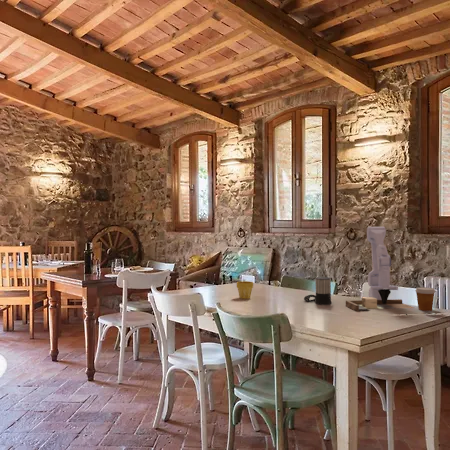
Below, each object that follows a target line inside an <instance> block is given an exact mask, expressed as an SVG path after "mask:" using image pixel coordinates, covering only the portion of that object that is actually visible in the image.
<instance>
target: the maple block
mask: <svg viewBox="0 0 450 450" xmlns="http://www.w3.org/2000/svg"><path fill="white" fill-rule="evenodd" d="M361 300H362V306H364V307H366V308H373V307H377V299H376V298H373V297H369V296H365V297H364V296H363V297H361Z"/></svg>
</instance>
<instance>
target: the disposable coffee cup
mask: <svg viewBox="0 0 450 450" xmlns="http://www.w3.org/2000/svg"><path fill="white" fill-rule="evenodd" d="M414 291H415V293H416V300H417V302H416V303H417V308H418V310H419V311H422V312H423V311H424V312H429V311H430V312H432V311H433V307H434V299H435V294H436V290H435V288H433V287H428V286H427V287H425V286H423V287H420V286H419V287H415V290H414Z"/></svg>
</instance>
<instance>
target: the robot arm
mask: <svg viewBox="0 0 450 450" xmlns="http://www.w3.org/2000/svg"><path fill="white" fill-rule="evenodd" d="M386 234H387V230H386V227H385V226H367V228H366V240H367V241H368V242H369V243H370V246H371V247H370V248H371V262H372V264H371V265H372V270H371V271H369V272H368V275H367V277H368V278H367V284H368V286H369V289H368V297H373V298H376V299H377V300H382V303H383V304H386V303H387V300H389V296H390V295H391V291H399V286H397V285H391V282H390V281H391V280H390V279H391V277H390V276H391V270H390V268H391V267H392V259H391V258H392V257H391V256H390V254H389V253H388V248H387V246H385V244H384V243H385V242H384V240H385V238H386Z"/></svg>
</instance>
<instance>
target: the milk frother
mask: <svg viewBox="0 0 450 450" xmlns="http://www.w3.org/2000/svg"><path fill="white" fill-rule="evenodd" d="M314 279H315V294H308V295H305V296H304V298H303V300H304V301H305V302H308V303H309V302H310V303H313V302H315V303H314V304H317V305H324V306H325V305H326V306H327V305H332V298H331V297H332V294H331V293H332V291H331V290H332V289H331V288H332V287H331V284H332V283H331V282H332V281H331V280H332V277H327V276H317V277H315V278H314ZM311 298H313V299H311Z"/></svg>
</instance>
